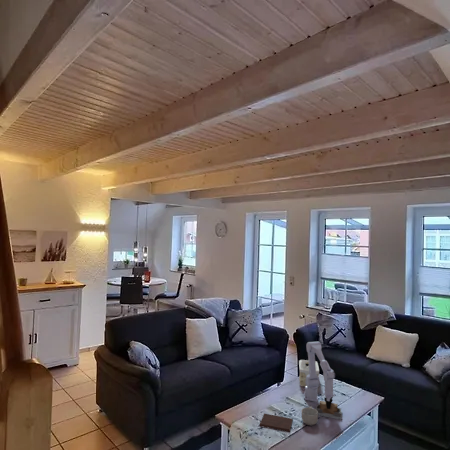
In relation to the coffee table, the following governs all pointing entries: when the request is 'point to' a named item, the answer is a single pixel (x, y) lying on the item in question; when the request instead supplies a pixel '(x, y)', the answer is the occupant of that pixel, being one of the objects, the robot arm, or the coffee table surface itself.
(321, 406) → the tan wooden block
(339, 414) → the board
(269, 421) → the notebook
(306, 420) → the teacup
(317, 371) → the storage basket
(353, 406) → the coffee table surface
